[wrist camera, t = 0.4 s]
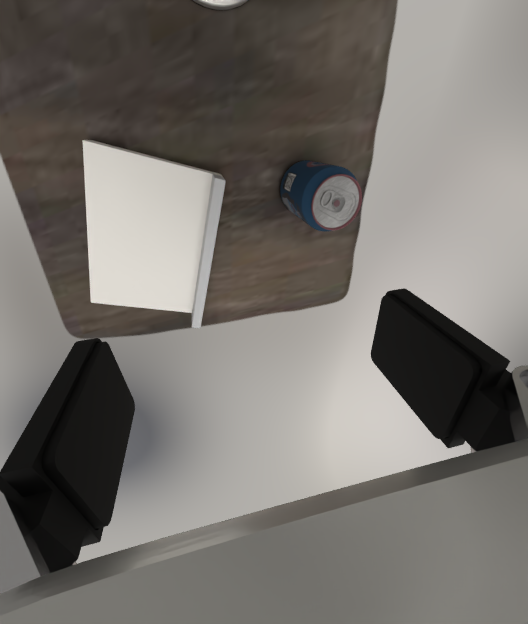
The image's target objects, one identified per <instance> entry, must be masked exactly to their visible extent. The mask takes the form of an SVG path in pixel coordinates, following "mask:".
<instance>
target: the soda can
mask: <svg viewBox="0 0 528 624" xmlns="http://www.w3.org/2000/svg"><path fill="white" fill-rule="evenodd" d="M280 192H281V198H282V201H283V203H284V205H285V206H286V208H287V209H288V210H290V211H291V212H292V213H294V214H295V215H296V216H298V217H299V218H300V219H302V220H303V221H304V222H306V223H307V224H309V225H310V226H311V227H313V228H314V229H316V230H319V231H332V230H338V229H341V228H343V227H345V226H347V225H348V224H349V223H350V222H352V221H353V219H354V218H355V217H356V215H357V214H358V212H359V209H360V206H361V202H362V192H361V188H360V186H359V184H358V182H357V180H356V178H355V176H354V175H353V174H352V173H351V172H350V171H349V170H347V169H345V168H343V167H339V166H334V165H329V164H324V163H319V162H314V161H308V160H305V161H300V162H298V163H296V164H294V165H293V166H291V167H290V168H289V169H288V170H287V172H286V173H285V175H284V177H283V179H282V182H281V188H280Z"/></svg>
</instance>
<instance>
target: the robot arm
mask: <svg viewBox="0 0 528 624" xmlns="http://www.w3.org/2000/svg"><path fill="white" fill-rule="evenodd" d="M193 1H194V2H196V3H198V4H200V5H202V6H204V7H207V8H211V9H215V10H229V9H232V8H235V7H239V6H241V5H242V4H244V3H245V2H247V1H248V0H193ZM371 358H372V361H373V362H374V364H375V365H376V366H377V367H378V368H379V370H380V371H381V372H382V373H383V375H384V376H385V377H386V378H387V379H388V380H389V382H390V383H391V384H392V386H393V387H394V388H395V389H396V390H397V392H398V393H399V394H400V395H401V396H402V398H403V399H404V400H405V401H406V403H407V404H408V405H409V406H410V407H411V409H412V410H413V411H414V412H415V414H416V415H417V416H418V417H419V419H420V420H421V421H422V422H423V423H424V425H425V426H426V427H427V428H428V430H429V431H430V432H431V433H432V434H433V435H434V436H435V437H436V438H438V439H441V441H442V442H443V443H444V444H445V445H446V447H447V448H451V447H455V446H459V445H463V444H464V442H465V441H467V443H468V444H469V445H470V446H471V453H470V454H466V455H463V456H459V457H455V458H451V459H448V460H444V461H440V462H436V463H433V464H429V465H425V466H421V467H418V468H414V469H410V470H406V471H403V472H399V473H396V474H392V475H388V476H385V477H381V478H377V479H373V480H370V481H366V482H362V483H359V484H355V485H352V486H348V487H344V488H341V489H337V490H333V491H330V492H326V493H322V494H319V495H316V496H312V497H308V498H305V499H301V500H297V501H294V502H290V503H286V504H283V505H279V506H275V507H272V508H268V509H265V510H262V511H258V512H254V513H251V514H247V515H243V516H240V517H236V518H233V519H229V520H225V521H222V522H219V523H215V524H211V525H208V526H204V527H200V528H197V529H194V530H190V531H187V532H183V533H179V534H176V535H172V536H168V537H165V538H161V539H158V540H155V541H151V542H148V543H145V544H141V545H138V546H135V547H131V548H128V549H125V550H121V551H118V552H115V553H111V554H108V555H105V556H101V557H98V558H95V559H91V560H88V561H85V562H81V563H79V564H77V563H76V560H77V559H78V556H79V553H80V550H81V547H82V546H86V545H89V544H94V543H97V542H100V540H101V536H102V532H103V527H105V526H108V524H109V523H110V521H111V517H112V513H113V509H114V504H115V499H116V495H117V490H118V486H119V481H120V476H121V472H122V467H123V462H124V458H125V453H126V448H127V444H128V439H129V434H130V430H131V424H132V420H133V415H134V411H135V404H134V400H133V397H132V395H131V393H130V391H129V389H128V387H127V384H126V382H125V380H124V377H123V375H122V373H121V371H120V369H119V366H118V364H117V362H116V360H115V357H114V355H113V353H112V351H111V349H110V346H109V344H108V343H107V342H102V341H101V340H100V339H98V338H95V339H89V340H83V341H78V342H76V343H75V344H74V346H73V347H72V349H71V351H70V352H69V354H68V356H67V358H66V359H65V361H64V363H63V365H62V366H61V368H60V370H59V371H58V373H57V375H56V377H55V378H54V380H53V382H52V383H51V385H50V387H49V389H48V390H47V392H46V394H45V395H44V397H43V399H42V401H41V402H40V404H39V406H38V407H37V409H36V411H35V413H34V414H33V416H32V418H31V420H30V421H29V423H28V425H27V426H26V428H25V430H24V432H23V433H22V435H21V437H20V438H19V440H18V442H17V444H16V445H15V447H14V449H13V451H12V452H11V454H10V456H9V457H8V459H7V461H6V463H5V464H4V466H3V468H2V469H1V472H0V624H528V366H519V367H517V368H515V369H514V370H513V371H512V373H510V372H508V371H507V370H506V368H507V366H508V364H509V362H510V361H509V360H508V359H507V358H505V357H504V356H502V355H501V354H499V353H498V352H496V351H495V350H493V349H492V348H491V347H489V346H488V345H486V344H485V343H483V342H482V341H481V340H479V339H478V338H476V337H475V336H473V335H472V334H470V333H469V332H468V331H466V330H465V329H463V328H462V327H460V326H459V325H457V324H456V323H455V322H453V321H452V320H450V319H449V318H447V317H446V316H444V315H443V314H442V313H440V312H439V311H437V310H436V309H434V308H433V307H431V306H430V305H429V304H427V303H426V302H424V301H423V300H421V299H420V298H418V297H417V296H415V295H414V294H413V293H411V292H410V291H408V290H407V289H398V290H392V291H388V292H387V293H386V295H385V296H384V297H383V298H382V300H381V305H380V310H379V315H378V320H377V325H376V330H375V335H374V340H373V345H372V350H371Z"/></svg>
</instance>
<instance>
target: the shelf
mask: <svg viewBox="0 0 528 624" xmlns="http://www.w3.org/2000/svg"><path fill="white" fill-rule="evenodd" d="M83 156H84V176H85V195H86V215H87V235H88V254H89V274H90V294H91V303H101V304H111V305H120V306H130V307H140V308H150V309H159V310H169V311H179V312H189V313H192V327H193V328H200V327H201V321H202V315H203V309H204V304H205V298H206V292H207V286H208V280H209V275H210V269H211V263H212V257H213V252H214V246H215V240H216V234H217V228H218V223H219V217H220V211H221V205H222V199H223V194H224V188H225V182H226V180H225V179H224V178H223V177H222V175H221V174H219V173H215V172H211V171H207V170H204V169H200V168H196V167H192V166H188V165H185V164H181V163H177V162H173V161H169V160H166V159H162V158H158V157H154V156H150V155H147V154H143V153H139V152H135V151H131V150H128V149H124V148H120V147H116V146H112V145H109V144H105V143H101V142H97V141H93V140H83Z"/></svg>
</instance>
